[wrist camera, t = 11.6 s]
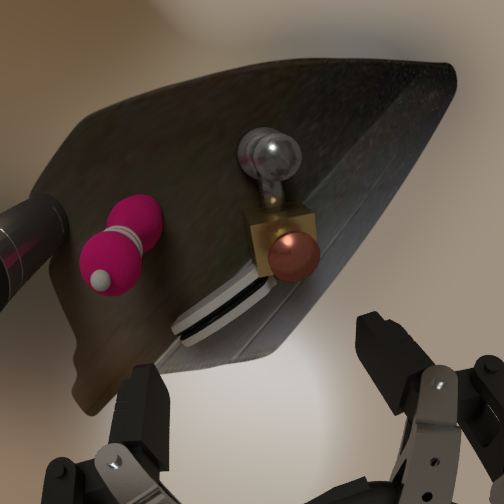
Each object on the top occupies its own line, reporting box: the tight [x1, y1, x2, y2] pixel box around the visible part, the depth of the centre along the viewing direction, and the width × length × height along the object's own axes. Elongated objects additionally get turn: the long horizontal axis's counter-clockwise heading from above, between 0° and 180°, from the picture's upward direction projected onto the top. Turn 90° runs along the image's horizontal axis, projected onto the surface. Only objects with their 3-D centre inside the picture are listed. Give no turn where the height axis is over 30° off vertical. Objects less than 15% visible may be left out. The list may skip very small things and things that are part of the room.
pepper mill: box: [80, 194, 163, 296], centre depth 31 cm, size 7×7×20 cm
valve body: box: [236, 127, 320, 282], centre depth 36 cm, size 8×18×11 cm, turn 10°
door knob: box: [245, 133, 301, 181], centre depth 34 cm, size 5×5×7 cm
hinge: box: [171, 263, 277, 347], centre depth 43 cm, size 17×5×10 cm, turn 126°
